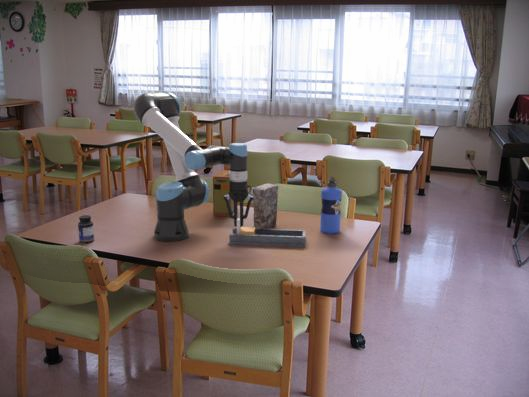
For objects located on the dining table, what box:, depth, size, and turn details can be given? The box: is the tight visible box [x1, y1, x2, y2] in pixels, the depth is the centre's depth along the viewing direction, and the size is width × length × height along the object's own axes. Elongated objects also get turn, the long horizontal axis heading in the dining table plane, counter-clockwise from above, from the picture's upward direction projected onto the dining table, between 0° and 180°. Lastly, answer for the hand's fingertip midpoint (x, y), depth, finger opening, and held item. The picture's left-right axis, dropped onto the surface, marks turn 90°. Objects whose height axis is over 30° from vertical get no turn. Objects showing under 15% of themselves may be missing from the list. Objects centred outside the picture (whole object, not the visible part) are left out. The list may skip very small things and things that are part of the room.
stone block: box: [252, 182, 279, 229], centre depth 248 cm, size 13×7×20 cm, turn 151°
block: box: [240, 226, 255, 235], centre depth 231 cm, size 6×6×4 cm
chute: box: [228, 227, 307, 248], centre depth 230 cm, size 32×12×4 cm, turn 85°
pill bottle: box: [77, 214, 95, 243], centre depth 228 cm, size 6×6×11 cm
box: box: [212, 169, 234, 217], centre depth 274 cm, size 17×9×20 cm, turn 172°
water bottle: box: [319, 176, 343, 235], centre depth 243 cm, size 9×9×25 cm
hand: (238, 233), depth 231 cm, fingers closed
